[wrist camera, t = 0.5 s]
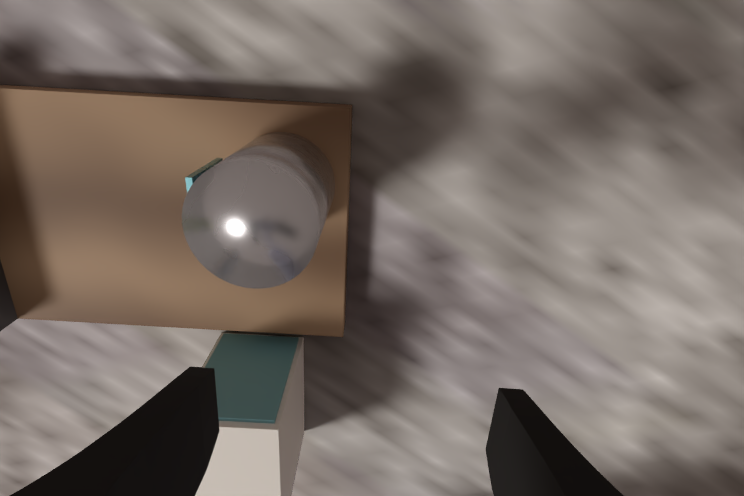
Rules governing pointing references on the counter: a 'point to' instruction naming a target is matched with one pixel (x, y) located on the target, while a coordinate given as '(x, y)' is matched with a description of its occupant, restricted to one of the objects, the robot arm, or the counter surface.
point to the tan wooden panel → (149, 210)
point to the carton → (256, 415)
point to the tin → (259, 210)
